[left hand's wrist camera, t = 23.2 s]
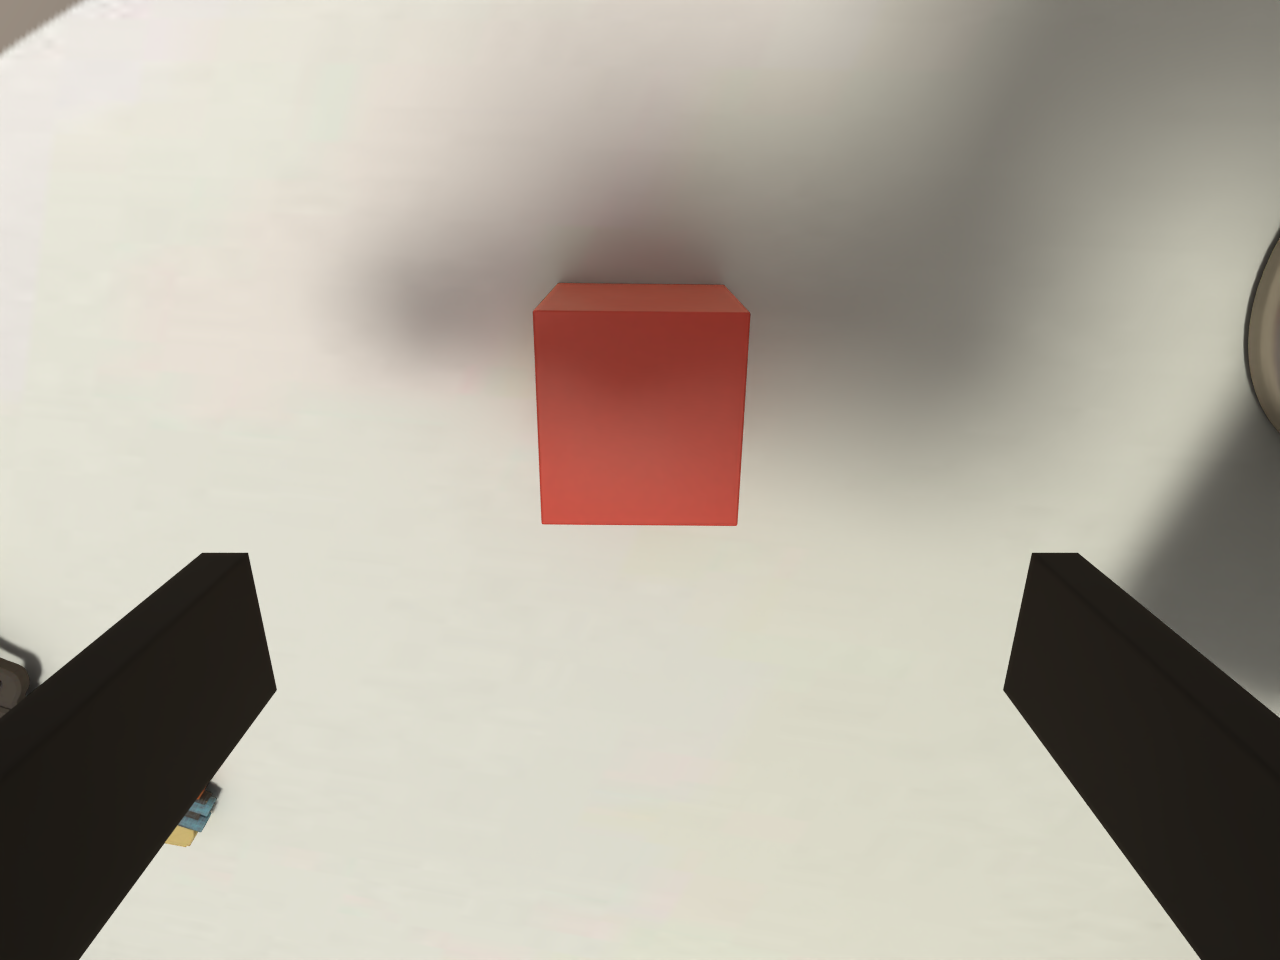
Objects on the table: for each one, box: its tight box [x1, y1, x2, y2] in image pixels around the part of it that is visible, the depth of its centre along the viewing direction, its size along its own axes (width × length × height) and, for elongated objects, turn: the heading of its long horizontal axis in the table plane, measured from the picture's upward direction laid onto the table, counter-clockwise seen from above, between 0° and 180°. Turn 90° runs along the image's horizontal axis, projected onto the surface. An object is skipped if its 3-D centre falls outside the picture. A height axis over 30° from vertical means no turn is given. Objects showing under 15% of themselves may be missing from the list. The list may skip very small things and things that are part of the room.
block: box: [533, 283, 750, 526], centre depth 27 cm, size 7×7×7 cm
